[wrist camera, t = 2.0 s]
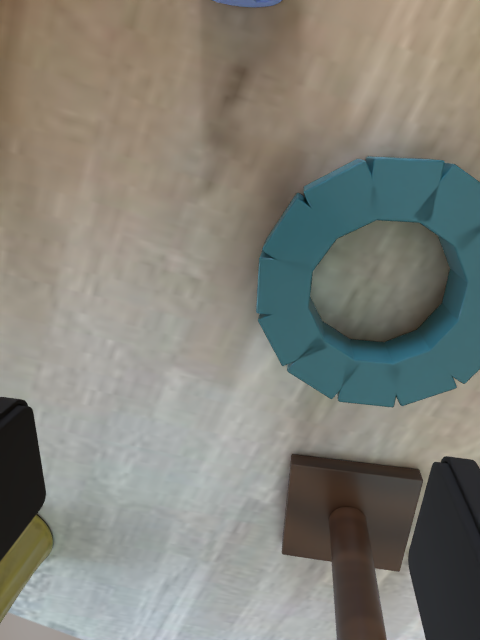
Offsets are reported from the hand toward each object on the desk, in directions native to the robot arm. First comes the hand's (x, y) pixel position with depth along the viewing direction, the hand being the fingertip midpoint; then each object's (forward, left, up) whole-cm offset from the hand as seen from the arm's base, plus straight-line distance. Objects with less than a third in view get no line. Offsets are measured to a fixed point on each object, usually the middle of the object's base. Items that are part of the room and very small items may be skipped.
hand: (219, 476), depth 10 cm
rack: (+15, +6, -15) cm, 22 cm away
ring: (-1, +6, -15) cm, 16 cm away
